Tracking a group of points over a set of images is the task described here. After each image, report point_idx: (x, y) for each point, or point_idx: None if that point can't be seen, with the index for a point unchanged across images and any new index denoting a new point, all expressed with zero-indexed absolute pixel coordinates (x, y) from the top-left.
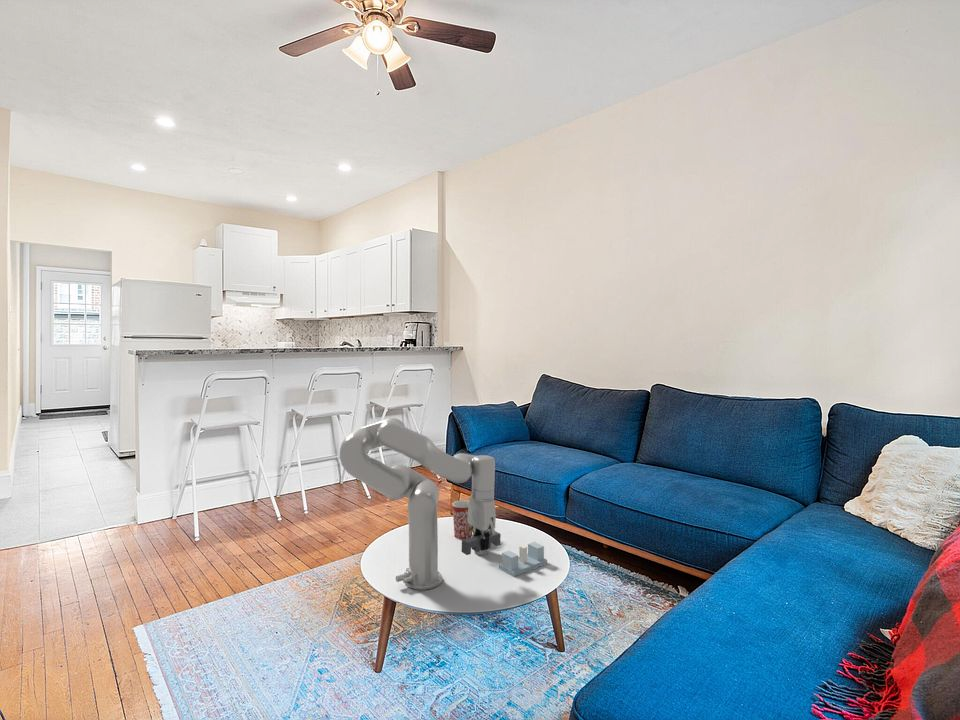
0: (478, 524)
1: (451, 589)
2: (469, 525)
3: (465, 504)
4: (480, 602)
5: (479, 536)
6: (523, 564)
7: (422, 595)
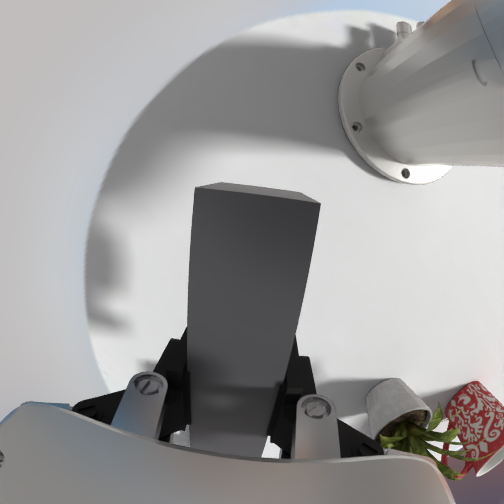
0: (100, 494)
1: (283, 135)
2: (456, 429)
3: (494, 455)
4: (134, 156)
5: (249, 402)
6: None
7: (322, 42)
